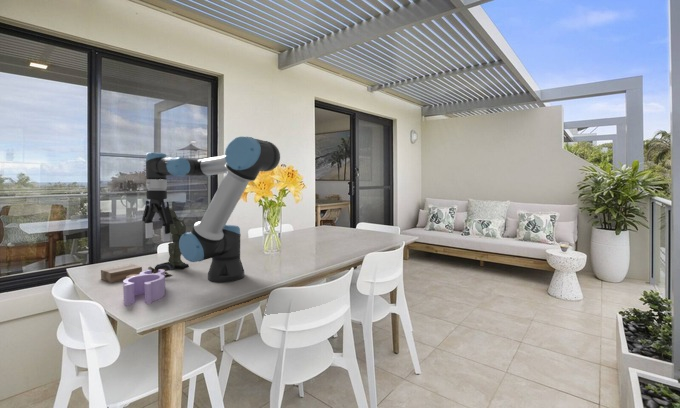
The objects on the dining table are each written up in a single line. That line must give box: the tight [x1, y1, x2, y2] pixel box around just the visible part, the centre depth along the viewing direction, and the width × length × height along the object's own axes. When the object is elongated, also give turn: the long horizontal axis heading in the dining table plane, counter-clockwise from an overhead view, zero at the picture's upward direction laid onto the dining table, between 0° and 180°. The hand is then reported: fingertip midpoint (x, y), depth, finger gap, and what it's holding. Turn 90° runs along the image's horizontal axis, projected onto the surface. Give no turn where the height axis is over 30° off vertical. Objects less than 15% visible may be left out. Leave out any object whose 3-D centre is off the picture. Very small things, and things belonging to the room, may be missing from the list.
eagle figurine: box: [147, 262, 174, 277], centre depth 138 cm, size 8×7×9 cm
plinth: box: [100, 263, 143, 284], centre depth 137 cm, size 9×12×4 cm
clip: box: [122, 269, 166, 306], centre depth 116 cm, size 20×12×7 cm, turn 14°
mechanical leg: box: [158, 207, 189, 270], centre depth 154 cm, size 14×7×30 cm, turn 84°
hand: (157, 239), depth 136 cm, fingers open, 13 cm apart
